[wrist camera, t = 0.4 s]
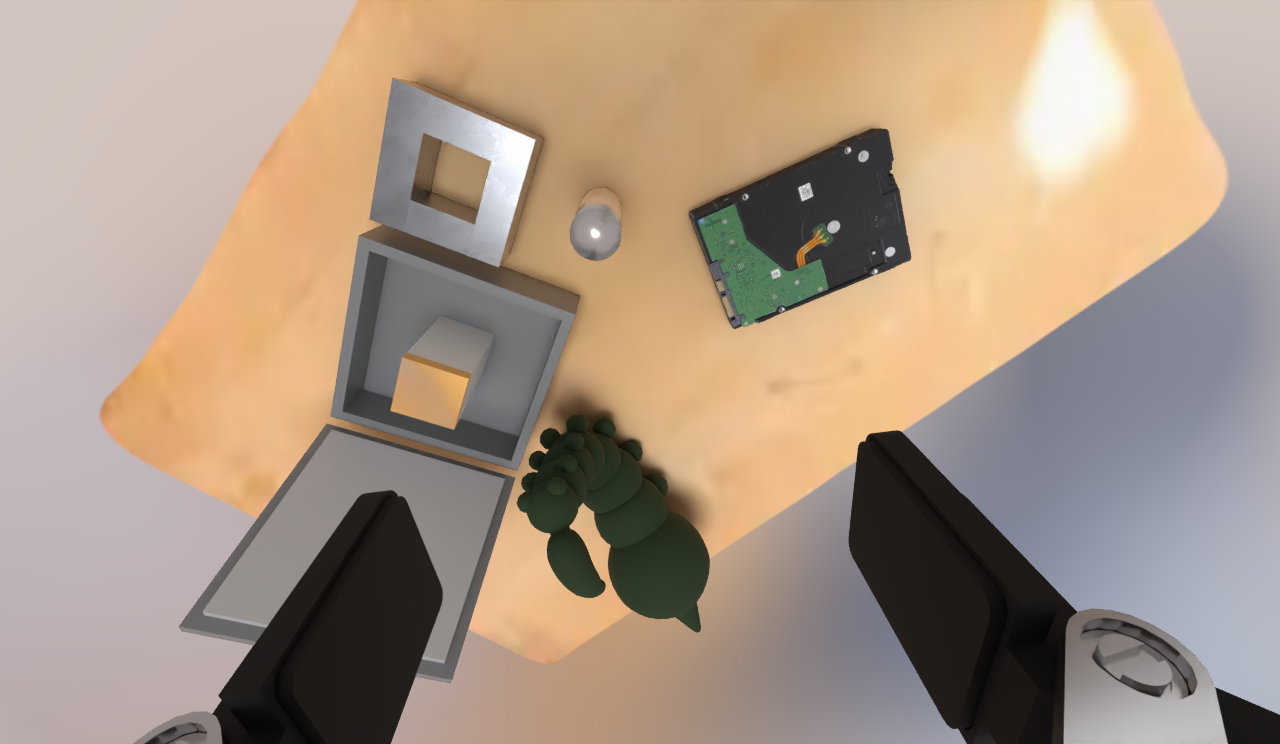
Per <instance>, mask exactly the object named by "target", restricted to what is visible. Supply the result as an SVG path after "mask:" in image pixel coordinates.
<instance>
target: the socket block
mask: <svg viewBox="0 0 1280 744" xmlns="http://www.w3.org/2000/svg"><path fill="white" fill-rule="evenodd" d="M543 139H544V138H543V137H540V136H538V135H536V134H534V133H531V132H529V131H527V130H524V129H522V128H520V127H518V126H515V125H513V124H511V123H508V122H506V121H504V120H502V119H499V118H497V117H495V116H492V115H490V114H488V113H485V112H483V111H481V110H479V109H476V108H474V107H472V106H469V105H467V104H465V103H463V102H460V101H458V100H456V99H453V98H451V97H449V96H447V95H444V94H442V93H440V92H437V91H435V90H433V89H430V88H428V87H426V86H424V85H421V84H419V83H417V82H412V81H406V80H401V79H396V78H392V84H391V90H390V96H389V102H388V109H387V115H386V121H385V127H384V133H383V139H382V145H381V152H380V158H379V164H378V170H377V176H376V182H375V188H374V194H373V201H372V207H371V213H370V220H373V221H376V222H378V223H381V224H384V225H386V226H389V227H392V228H394V229H397V230H400V231H402V232H405V233H408V234H411V235H413V236H416V237H419V238H421V239H424V240H427V241H429V242H432V243H435V244H437V245H440V246H443V247H445V248H448V249H451V250H453V251H456V252H459V253H461V254H464V255H467V256H469V257H472V258H475V259H477V260H480V261H483V262H485V263H488V264H491V265H494V266H496V267H500V265H501V264H502V263H503V262H504V260H505V259H506V258H507V257H508V256H509V254H510V252H511V248H512V245H513V241H514V238H515V235H516V231H517V228H518V224H519V221H520V217H521V214H522V211H523V207H524V204H525V200H526V197H527V194H528V190H529V187H530V183H531V180H532V177H533V173H534V170H535V166H536V163H537V160H538V156H539V153H540V149H541V146H542V143H543ZM441 140H442V141H444V142H447V143H449V144H452V145H454V146H456V147H459V148H461V149H464V150H466V151H468V152H471V153H473V154H476V155H478V156H480V157H483V158H485V159H488V160H490V161H491V164H490V168H489V171H488V175H487V179H486V183H485V187H484V191H483V195H482V199H481V203H480V207H479V211H477V210H475V209H472V208H470V207H467V206H464V205H462V204H459V203H457V202H454V201H452V200H449V199H447V198H444V197H442V196H439V195H437V194H434V193H431V187H432V182H433V178H434V173H435V168H436V163H437V159H438V154H439V149H440V144H441Z"/></svg>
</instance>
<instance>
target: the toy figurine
mask: <svg viewBox="0 0 1280 744" xmlns="http://www.w3.org/2000/svg"><path fill="white" fill-rule="evenodd" d="M566 425H567V430H568V432H565V433H564V434H562V435H561V434H560V433H559V432H558V431H557V430H556V429H552V428H549V429H546V430H544V431H543V433H542V434H541V436H540V443H541V444H542V446H543V447H544V448H545V449H549V450H548V452H547V453H546V454H545V453H543V452H542V451H536V452H534V453H532V454H531V456H530V458H529V465H530V466H531V468H532V469H534V470H537V471H538V472H537V473H535V472H532V473H528V474H527V475H526V476H524V477H523V478H522V483H521V485H522V487H523V489H524V490H525V491H526V492H524V493H523V494H521V495H520V496H519V498H518V501H517V505H518V507H519V509H520V511H522V512H524V513H527V515H528V518H529V520H530V522H531V524H532V525H533V526H534V527H535V528H536V529H538V530H539V531H542V532H544V533H550V535H551V537H550V538H549V541H548V545H547V557H548V561H549V563H550V566H551V568H552V570H553V572H554V573H555V575H556V577H557V578H558V579H559V580H560V582H561V583H562V584H563V585H564V586H565V587H566V588H567V589H568V590H570V591H571V592H573V593H574V594H576V595H577V596H581V597H585V598H593V597H597V596H599V595H600V594H602V593H603V592H604V590H605V587H606V585H605V582H604V581H603V580H601V579H600V577H599V574H598V573H597V571H596V569H595V567H594V565H593V563H592V560H591V558H590V555H589V552H588V550H587V547H586V545H585V543H584V541H583V540H582V538H581V537H580V536H579V535H578V534H577V533H576V532H575V531H574V530H572V529H570V527H569V526H570V525H571V524H572V522H573V521H574V519H575V518H576V515H577V513H578V508H579V507H580V506H581V504H582V503H584V504H585V505H586V506H587V507H588V508H589V509H591V510H592V511H594V518H595V523H596V526H597V529H598V531H599V533H600V535H601V537H602V538H603V539H604V540H605V541H606V542H607V543H608V544H610V545H611V547H610V551H609V558H608V569H609V576H610V579H611V582H612V585H613V587H614V589H615V591H616V593H617V595H618V596H619V597H620V599H621V600H622V602H623V603H624V604H625V605H626V606H627V607H629V608H630V609H631V610H633V611H635V612H637V613H638V614H640V615H643V616H645V617H648V618H654V619H668V618H673V617H676V618H677V619H679V620H680V621H681V622H682V623H684V624H685V625H687V626H688V627H689V628H690V629H692V630H693V631H695V632H700V630H701V625H700V618H699V613H698V607H697V601H698V599H699V598H700V596H701V595H702V593H703V591H704V588H705V586H706V583H707V579H708V575H709V567H710V559H709V554H708V551H707V548H706V545H705V543H704V541H703V539H702V537H701V536H700V534H699V532H698V531H697V530H696V528H695V527H694V526H693V525H692V524H691V523H690V522H689V521H687V520H686V519H685V518H683V517H681V516H679V515H677V514H675V513H672V512H668V511H667V506H666V502H665V499H664V497H663V496H665V495H666V493H667V490H668V485H667V482H666V480H665V479H664V478H663V477H662V476H661V475H659V474H651V475H649V476H647V477H645V478H642V471H641V469H640V466H639V464H638V461H639V460H640V459H641V457H642V454H643V452H642V448H641V446H640V445H639V444H638V443H636V442H634V441H629V442H627V443H626V444H624V445H623V447H622V449H621V448H619V447H617V445H616V444H615V442H614V441H613V440H612V439H610V438H611V437H612V436H614V434H615V430H616V428H615V425H614V423H613V421H612V420H610V419H609V418H601V419H599V420H597V421H596V422H595V423H594V425H593V428H592V429H593V432H591V433H588V432H586V430H587V428H588V421H587V419H586V418H585V417H584V416H583V415H577V414H574V415H573V416H571V417H570V418H569V420H568V421H567V423H566Z"/></svg>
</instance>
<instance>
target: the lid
mask: <svg viewBox="0 0 1280 744" xmlns="http://www.w3.org/2000/svg"><path fill="white" fill-rule="evenodd" d="M514 480H515V477H511V476H508V475H504V474H501V473H497V472H494V471H490V470H487V469H483V468H480V467H476V466H473V465H469V464H466V463H462V462H459V461H455V460H452V459H448V458H445V457H441V456H438V455H434V454H431V453H428V452H424V451H421V450H417V449H414V448H410V447H407V446H403V445H400V444H396V443H393V442H389V441H386V440H382V439H379V438H375V437H372V436H368V435H365V434H361V433H358V432H354V431H351V430H347V429H344V428H340V427H337V426H333V425H330V424H326V425H325V427H324V428H323V430H322V431H321V432H320V434H319V435H318V436H317V438H316V439H315V441H314V442H313V443H312V445H311V446H310V447H309V449H308V450H307V452H306V453H305V454H304V456H303V457H302V458H301V460H300V461H299V462H298V464H297V465H296V467H295V468H294V469H293V471H292V472H291V473H290V475H289V476H288V478H287V479H286V480H285V482H284V483H283V484H282V486H281V487H280V488H279V490H278V491H277V493H276V494H275V495H274V497H273V498H272V499H271V501H270V502H269V504H268V505H267V506H266V508H265V509H264V510H263V512H262V513H261V515H260V516H259V517H258V519H257V520H256V521H255V523H254V524H253V525H252V527H251V528H250V530H249V531H248V532H247V534H246V535H245V537H244V538H243V539H242V541H241V542H240V543H239V545H238V546H237V547H236V549H235V550H234V552H233V553H232V554H231V556H230V557H229V558H228V560H227V561H226V562H225V564H224V565H223V567H222V568H221V570H220V571H219V572H218V573H217V575H216V576H215V578H214V579H213V580H212V582H211V583H210V584H209V586H208V587H207V589H206V590H205V591H204V593H203V594H202V595H201V597H200V598H199V600H198V601H197V602H196V604H195V605H194V606H193V608H192V609H191V611H190V612H189V613H188V615H187V616H186V617H185V619H184V620H183V621H182V623H181V624H180V626H179V628H180V629H181V631H183V632H188V633H194V634H198V635H204V636H210V637H214V638H220V639H225V640H230V641H235V642H240V643H245V644H250V645H254V644H255V643H256V641H257V640H258V639H259V637H260V636H261V634H262V633H263V632H264V630H265V629H266V627H267V626H268V624H269V623H270V622H271V620H272V619H273V617H274V616H275V614H276V613H277V612H278V610H279V609H280V607H281V606H282V605H283V603H284V602H285V600H286V599H287V597H288V596H289V595H290V593H291V592H292V590H293V589H294V588H295V586H296V585H297V583H298V582H299V580H300V579H301V578H302V576H303V575H304V573H305V572H306V570H307V569H308V568H309V566H310V565H311V563H312V562H313V561H314V559H315V558H316V556H317V555H318V553H319V552H320V551H321V549H322V548H323V546H324V545H325V544H326V542H327V541H328V539H329V538H330V536H331V535H332V534H333V532H334V531H335V529H336V528H337V526H338V525H339V524H340V522H341V521H342V519H343V518H344V517H345V515H346V514H347V512H348V511H349V509H350V508H351V507H352V505H353V504H354V502H355V501H356V500H357V498H358V497H359V496H360V495H361V494H364V493H370V492H379V491H387V490H392V491H395V492H396V493H397V495H398V496H403V497H404V498H405V499H406V501H407V503H408V505H409V507H410V510H411V512H412V515H413V517H414V520H415V522H416V525H417V527H418V529H419V532H420V534H421V537H422V539H423V542H424V544H425V546H426V549H427V551H428V554H429V556H430V559H431V561H432V564H433V566H434V568H435V571H436V573H437V576H438V578H439V581H440V583H441V586H442V589H443V600H442V605H441V608H440V611H439V614H438V616H437V619H436V622H435V624H434V627H433V630H432V633H431V635H430V638H429V641H428V643H427V646H426V649H425V652H424V654H423V657H422V660H421V663H420V665H419V668H418V671H417V673H416V676H415V677H420V678H425V679H431V680H436V681H441V682H446V683H451V681H452V678H453V675H454V672H455V669H456V666H457V662H458V659H459V656H460V653H461V649H462V646H463V643H464V640H465V637H466V634H467V630H468V627H469V624H470V621H471V618H472V614H473V611H474V608H475V605H476V602H477V598H478V595H479V592H480V589H481V586H482V582H483V579H484V576H485V573H486V570H487V566H488V563H489V560H490V557H491V554H492V550H493V547H494V544H495V541H496V538H497V534H498V531H499V528H500V525H501V522H502V518H503V515H504V512H505V509H506V506H507V503H508V499H509V496H510V493H511V490H512V487H513V483H514Z"/></svg>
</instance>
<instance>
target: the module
mask: <svg viewBox="0 0 1280 744" xmlns="http://www.w3.org/2000/svg"><path fill="white" fill-rule="evenodd" d="M494 335H495V334H492V333H489V332H486V331H483V330H481V329H478V328H475V327H472V326H469V325H466V324H463V323H460V322H457V321H454V320H452V319H449V318H446V317H443V316H440V317H439V318H438V319H437V320H436V321H435V322H434V324H433V325H432V326H431V327H430V328H429V329H428V330H427V331H426V332H425V333H424V334H423V336H422V337H421V338H420V339H419V340H418V341H417V342H416V343H415V344H414V345H413V346H412V348H411V349H410V350H409V351H408V352H407V353H406V354H405V355H404V356H403V357H402V360H401V365H400V370H399V374H398V379H397V383H396V388H395V393H394V397H393V402H392V406H391V411H393V412H396V413H400V414H403V415H406V416H410V417H413V418H416V419H420V420H423V421H426V422H430V423H433V424H436V425H440V426H443V427H446V428H450V429H453V430H454V429H455V427H456V425H457V423H458V421H459V419H460V417H461V416H462V414H463V412H464V410H465V408H466V406H467V404H468V402H469V401H470V399H471V397H472V395H473V393H474V391H475V389H476V388H477V386H478V384H479V382H480V380H481V378H482V375H483V371H484V368H485V365H486V361H487V358H488V355H489V352H490V348H491V345H492V342H493V338H494Z"/></svg>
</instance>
